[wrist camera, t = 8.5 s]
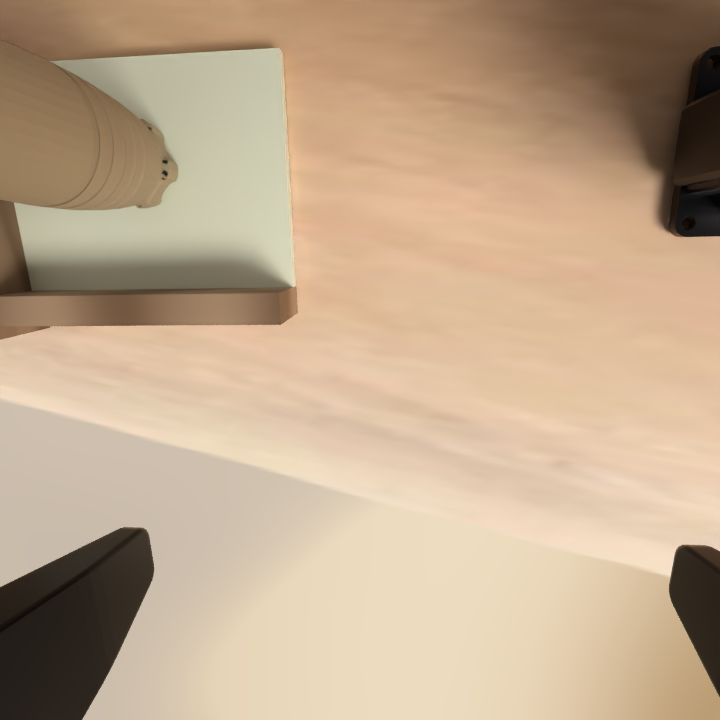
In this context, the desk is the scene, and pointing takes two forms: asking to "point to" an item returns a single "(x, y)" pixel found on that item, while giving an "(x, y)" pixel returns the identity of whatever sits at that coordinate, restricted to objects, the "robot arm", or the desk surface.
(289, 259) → the pad
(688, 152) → the robot arm
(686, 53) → the desk surface
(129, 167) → the handle
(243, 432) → the desk surface
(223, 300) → the walls
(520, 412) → the desk surface
